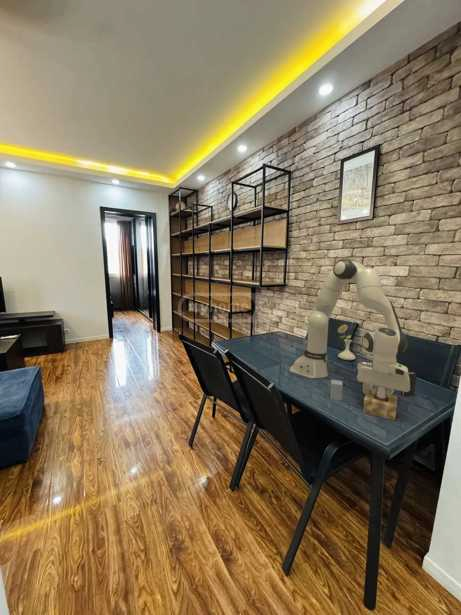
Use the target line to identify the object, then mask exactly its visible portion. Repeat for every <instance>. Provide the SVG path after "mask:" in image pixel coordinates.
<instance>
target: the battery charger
mask: <svg viewBox="0 0 461 615" xmlns="http://www.w3.org/2000/svg"><path fill="white" fill-rule="evenodd" d="M408 375H409V379H410V391H408V392H404V391H400V394H401V395H402V396H405V397H406V396H412V395H415V393H416V392H415V391H416V385H417V377H418V376H417V373H415V372H412V371H408Z"/></svg>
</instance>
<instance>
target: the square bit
mask: <svg viewBox="0 0 461 615" xmlns="http://www.w3.org/2000/svg"><path fill="white" fill-rule="evenodd" d="M343 385H344V384H343V381H342V380H337V379H330V388H329V389H330V392H329V397H330V399H329V400H334V401H340V402H342V400H343Z"/></svg>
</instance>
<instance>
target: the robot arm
mask: <svg viewBox="0 0 461 615" xmlns="http://www.w3.org/2000/svg"><path fill="white" fill-rule="evenodd" d="M347 284H350V285H355V286H356V294H357V299H358V302H359V303H360V304H361V305H362V306H364V307H365V308H367V309H370V310H373V311H376V312H378V313H379V314H380V315H382V317H384V322H385V323H386V324H385V325H386V328H385V327H380V328H378V329H377V330H375V331H368V332H366V333H364V334H363V335H362V339H361V347H363V349H364V351H366V352H367V353H373V357H372V363H371V362H365V361H359V362H358V363H357V367H356V369H357V371H358V372H357V375H356V376H357V377H356V380H357V382H359V383H362V384H363V383H368V384H370V388H371V390H372V394H376V389H374V388H373V385H377V386H381V387H386V388H390V392H387V397H388V398H391V395H393V394H394V392H395V391H400V392H401V391H404V392H408V391H410V379H409V375H408V372H409V369H408V367H407V366H405V365H403V364H400V363H399V362H397V355H400V354H402V353H403V352H405V351H406V349H407V347H408V340H407V338H406V336H405V334H404V332H403V330H402V325H401V323H400V321H399V318H398V315H397V312H396V310H395V306H394V304H393V302H392V301H391V300H390V299H388V297H387V296H386V295H385V293H384V290H383V286H382V285H383V284H382V281H381V277H380V275H379V271H378V270H377V269H376V268H373V267H368V266H366V265H364V264H363V263H360V262H359V261H354V260H351V259H348V258H347V259H346V258H345V259H343V258H341V259H339V260H338V261H336V262H335V263H334V265H333V269H332V270H331V271H330V272H329V273H328V275H327V276H326V277H325V279H324V281H323V283H322V285H321V287H320V290H319V292H318V295H317V297H316V299H315V301H314V304H313V306H312V309H311V312H310V314H309V317H308V318H307V347H306V348H305V349H304V350H303V355H301V356H300V357H298V358H297V359H296V360H294V363H293V365H291V366H290V368H289V372H290V373H293V374H297V375H299V376H302V377H306V378H308V379H312V380H313V379H317V378H318V379H323V378H326V377H328V376H329V371H328V368H327V360H328V351H327V349H328V348H327V347H328V346H327V345H328V336H329V335H328V331H329V320H330V317H331V315H332V314H333V311H334V309H335V307H336V305H337V302H338V300H339V299H340V296H341V293H342V291H343V289H344V287H345V285H347Z"/></svg>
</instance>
